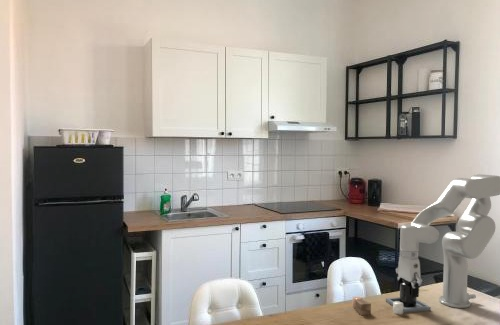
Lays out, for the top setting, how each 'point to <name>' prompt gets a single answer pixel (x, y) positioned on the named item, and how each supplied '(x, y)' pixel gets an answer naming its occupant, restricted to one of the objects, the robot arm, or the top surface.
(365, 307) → the walnut block
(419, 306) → the tray
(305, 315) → the top surface
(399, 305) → the white egg
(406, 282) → the supplement bottle
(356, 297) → the peach rounded dome
